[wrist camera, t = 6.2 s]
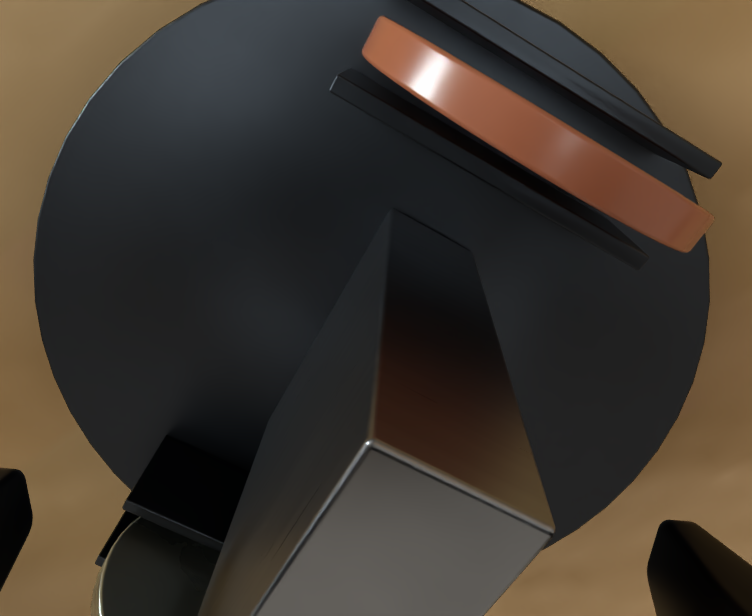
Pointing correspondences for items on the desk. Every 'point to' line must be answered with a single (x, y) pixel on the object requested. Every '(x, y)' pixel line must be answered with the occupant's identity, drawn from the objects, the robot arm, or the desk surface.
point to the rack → (365, 302)
